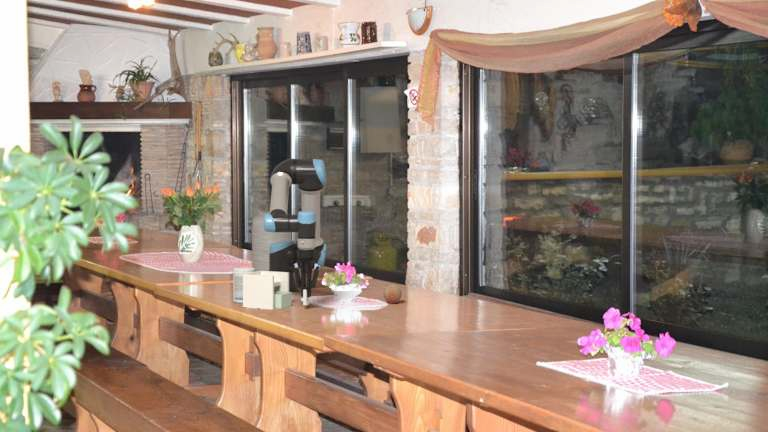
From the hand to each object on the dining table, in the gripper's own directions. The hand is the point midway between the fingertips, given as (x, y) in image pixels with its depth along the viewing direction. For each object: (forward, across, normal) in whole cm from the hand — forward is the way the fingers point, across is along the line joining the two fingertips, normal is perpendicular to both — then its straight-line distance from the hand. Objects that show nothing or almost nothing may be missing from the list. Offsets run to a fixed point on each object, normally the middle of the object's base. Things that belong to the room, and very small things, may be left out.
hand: (306, 304), depth 439 cm
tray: (+2, -16, 0) cm, 16 cm away
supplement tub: (+2, -33, +6) cm, 33 cm away
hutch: (+2, -19, 0) cm, 19 cm away
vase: (+2, -65, +91) cm, 112 cm away
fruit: (+2, +26, +32) cm, 41 cm away
